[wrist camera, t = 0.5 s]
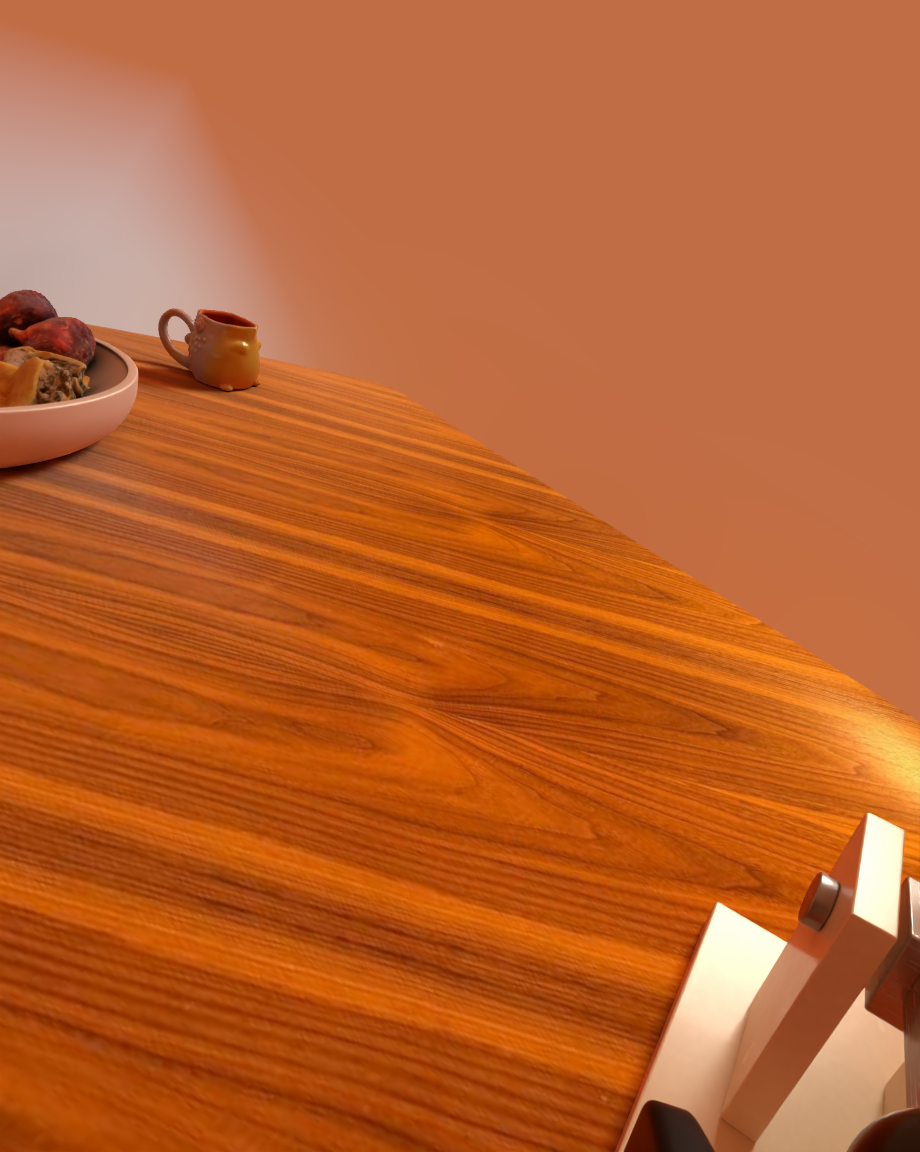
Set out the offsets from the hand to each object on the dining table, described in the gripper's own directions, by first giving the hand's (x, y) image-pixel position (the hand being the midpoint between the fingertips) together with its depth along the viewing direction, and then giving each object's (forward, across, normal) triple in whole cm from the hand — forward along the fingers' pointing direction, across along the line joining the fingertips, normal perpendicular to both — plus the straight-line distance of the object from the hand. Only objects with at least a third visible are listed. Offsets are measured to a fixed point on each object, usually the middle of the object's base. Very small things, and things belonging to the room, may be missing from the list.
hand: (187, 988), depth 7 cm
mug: (+72, +34, +2) cm, 80 cm away
